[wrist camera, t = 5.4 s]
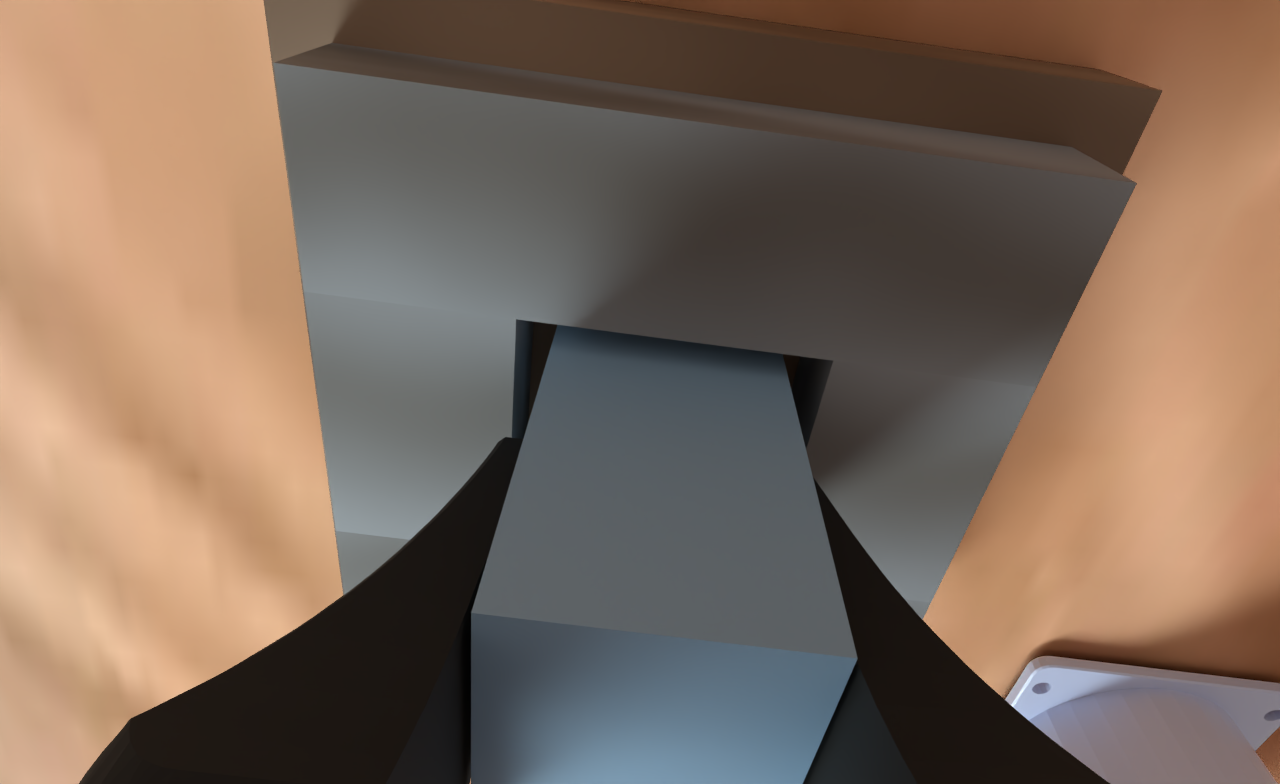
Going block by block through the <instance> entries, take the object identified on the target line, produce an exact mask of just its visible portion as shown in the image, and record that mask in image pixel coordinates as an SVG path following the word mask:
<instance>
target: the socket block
mask: <svg viewBox="0 0 1280 784" xmlns="http://www.w3.org/2000/svg"><path fill="white" fill-rule="evenodd" d="M264 6H265V14H266V21H267V29H268V36H269V44H270V51H271V58H272V66H273V73H274V81H275V88H276V96H277V103H278V111H279V118H280V125H281V133H282V140H283V148H284V155H285V163H286V170H287V178H288V185H289V193H290V200H291V207H292V215H293V222H294V230H295V237H296V245H297V252H298V260H299V267H300V275H301V282H302V289H303V297H304V304H305V312H306V319H307V327H308V334H309V342H310V349H311V356H312V364H313V371H314V379H315V386H316V394H317V401H318V409H319V416H320V424H321V431H322V438H323V446H324V453H325V461H326V468H327V476H328V483H329V491H330V498H331V506H332V513H333V520H334V528H335V535H336V543H337V550H338V558H339V565H340V573H341V580H342V587H343V595H345V594H346V593H347V592H349V591H350V590H351V589H353V588H354V587H355V586H357V585H358V584H359V583H360V582H362V581H363V580H364V579H365V578H367V577H368V576H369V575H370V574H372V573H373V572H374V571H375V570H377V569H378V568H379V567H380V566H381V565H383V564H384V563H385V562H386V561H387V560H388V559H390V558H391V557H392V556H393V555H394V554H395V553H397V552H398V551H399V550H400V549H401V548H402V547H403V546H404V545H405V544H406V543H407V542H408V541H409V540H410V539H412V538H413V537H414V536H415V535H416V534H417V533H418V532H419V531H420V530H421V529H422V528H423V527H424V526H425V525H426V524H427V523H428V522H429V521H430V520H431V519H432V518H433V517H434V516H435V515H436V514H437V513H438V512H439V511H440V510H441V509H442V508H443V507H444V506H445V505H446V504H447V503H448V502H449V501H450V499H451V498H452V497H453V496H454V495H455V494H456V493H457V492H458V491H459V490H460V489H461V488H462V487H463V485H464V484H465V483H466V482H467V481H468V480H469V478H470V477H471V476H472V475H473V474H474V473H475V471H476V470H477V469H478V468H479V467H480V465H481V464H482V463H483V462H484V460H485V459H486V458H487V456H488V455H489V454H490V453H491V451H492V450H493V449H494V447H495V446H496V444H497V443H498V442H499V441H500V440H502V439H503V438H505V437H511V438H518V439H524V435H525V432H526V428H527V425H528V422H529V418H530V415H531V412H532V408H533V405H534V402H535V398H536V395H537V392H538V388H539V385H540V382H541V378H542V375H543V372H544V368H545V365H546V362H547V358H548V355H549V352H550V348H551V345H552V342H553V338H554V335H555V332H556V328H557V325H564V326H571V327H579V328H587V329H594V330H602V331H610V332H617V333H625V334H633V335H640V336H648V337H656V338H663V339H671V340H679V341H686V342H694V343H702V344H709V345H717V346H725V347H733V348H740V349H748V350H756V351H763V352H771V353H779V354H783V358H784V362H785V366H786V370H787V374H788V378H789V383H790V387H791V391H792V395H793V399H794V403H795V407H796V411H797V415H798V419H799V423H800V427H801V431H802V435H803V439H804V443H805V447H806V451H807V455H808V459H809V464H810V468H811V472H812V476H813V477H814V479H815V480H816V482H817V483H818V484H819V486H820V487H821V488H822V490H823V491H824V493H825V494H826V496H827V497H828V499H829V500H830V501H831V503H832V504H833V506H834V507H835V509H836V510H837V511H838V513H839V514H840V516H841V517H842V519H843V520H844V521H845V523H846V524H847V526H848V527H849V528H850V530H851V531H852V533H853V534H854V535H855V537H856V538H857V540H858V541H859V542H860V544H861V545H862V546H863V548H864V549H865V550H866V552H867V553H868V554H869V556H870V557H871V558H872V560H873V561H874V562H875V563H876V565H877V566H878V567H879V569H880V570H881V571H882V573H883V574H884V575H885V576H886V578H887V579H888V580H889V581H890V583H891V584H892V585H893V586H894V588H895V589H896V590H897V591H898V592H899V593H900V594H901V596H902V597H903V598H904V599H905V600H906V601H907V603H908V604H909V605H910V606H911V607H912V608H913V610H914V611H915V612H916V613H917V614H918V615H919V617H920V618H921V619H923V617H924V615H925V613H926V611H927V609H928V607H929V605H930V603H931V601H932V599H933V597H934V595H935V593H936V591H937V589H938V587H939V585H940V583H941V581H942V579H943V577H944V575H945V573H946V571H947V568H948V566H949V564H950V562H951V560H952V558H953V556H954V554H955V552H956V550H957V548H958V546H959V544H960V542H961V540H962V538H963V536H964V534H965V532H966V530H967V528H968V526H969V524H970V522H971V520H972V518H973V516H974V514H975V511H976V509H977V507H978V505H979V503H980V501H981V499H982V497H983V495H984V493H985V491H986V489H987V487H988V485H989V483H990V481H991V479H992V477H993V475H994V473H995V471H996V469H997V467H998V465H999V463H1000V461H1001V459H1002V457H1003V454H1004V452H1005V450H1006V448H1007V446H1008V444H1009V442H1010V440H1011V438H1012V436H1013V434H1014V432H1015V430H1016V428H1017V426H1018V424H1019V422H1020V420H1021V418H1022V416H1023V414H1024V412H1025V410H1026V408H1027V406H1028V404H1029V402H1030V400H1031V397H1032V395H1033V393H1034V391H1035V389H1036V387H1037V385H1038V383H1039V381H1040V379H1041V377H1042V375H1043V373H1044V371H1045V369H1046V367H1047V365H1048V363H1049V361H1050V359H1051V357H1052V355H1053V353H1054V351H1055V349H1056V347H1057V345H1058V343H1059V340H1060V338H1061V336H1062V334H1063V332H1064V330H1065V328H1066V326H1067V324H1068V322H1069V320H1070V318H1071V316H1072V314H1073V312H1074V310H1075V308H1076V306H1077V304H1078V302H1079V300H1080V298H1081V296H1082V294H1083V292H1084V290H1085V288H1086V286H1087V284H1088V281H1089V279H1090V277H1091V275H1092V273H1093V271H1094V269H1095V267H1096V265H1097V263H1098V261H1099V259H1100V257H1101V255H1102V253H1103V251H1104V249H1105V247H1106V245H1107V243H1108V241H1109V239H1110V237H1111V235H1112V233H1113V231H1114V229H1115V227H1116V224H1117V222H1118V220H1119V218H1120V216H1121V214H1122V212H1123V210H1124V208H1125V206H1126V204H1127V202H1128V200H1129V198H1130V196H1131V194H1132V192H1133V190H1134V188H1135V186H1136V184H1137V183H1135V182H1134V181H1132V180H1130V179H1128V178H1126V177H1125V176H1123V175H1122V174H1123V172H1124V170H1125V168H1126V166H1127V164H1128V162H1129V160H1130V158H1131V155H1132V153H1133V151H1134V149H1135V147H1136V145H1137V143H1138V141H1139V139H1140V137H1141V135H1142V132H1143V130H1144V128H1145V126H1146V124H1147V122H1148V120H1149V118H1150V116H1151V114H1152V112H1153V109H1154V107H1155V105H1156V103H1157V101H1158V99H1159V97H1160V95H1161V93H1162V91H1161V90H1158V89H1155V88H1153V87H1150V86H1147V85H1144V84H1141V83H1138V82H1135V81H1132V80H1129V79H1126V78H1123V77H1120V76H1117V75H1114V74H1111V73H1108V72H1105V71H1102V70H1098V69H1092V68H1085V67H1078V66H1071V65H1064V64H1057V63H1050V62H1043V61H1036V60H1029V59H1022V58H1015V57H1008V56H1001V55H995V54H988V53H981V52H974V51H967V50H960V49H953V48H946V47H939V46H932V45H925V44H918V43H911V42H905V41H898V40H891V39H884V38H877V37H870V36H863V35H856V34H849V33H842V32H835V31H828V30H821V29H814V28H808V27H801V26H794V25H787V24H780V23H773V22H766V21H759V20H752V19H745V18H738V17H731V16H724V15H718V14H711V13H704V12H697V11H690V10H683V9H676V8H669V7H662V6H655V5H648V4H641V3H634V2H627V1H621V0H264Z"/></svg>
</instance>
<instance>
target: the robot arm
mask: <svg viewBox="0 0 1280 784" xmlns="http://www.w3.org/2000/svg"><path fill="white" fill-rule="evenodd" d="M522 442H523V439H518V438H511V437H505V438H503V439H502V440H500V441H499V442H498V443H497V444H496V446H495V447H494V449H493V450H492V451H491V453H490V454H489V455H488V456H487V458H486V459H485V460H484V462H483V463H482V464H481V465H480V467H479V468H478V469H477V470H476V471H475V473H474V474H473V475H472V476H471V477H470V478H469V480H468V481H467V482H466V483H465V484H464V485H463V487H462V488H461V489H460V490H459V491H458V492H457V493H456V494H455V495H454V496H453V497H452V498H451V499H450V501H449V502H448V503H447V504H446V505H445V506H444V507H443V508H442V509H441V510H440V511H439V512H438V513H437V514H436V515H435V516H434V517H433V518H432V519H431V520H430V521H429V522H428V523H427V524H426V525H425V526H424V527H423V528H422V529H421V530H420V531H419V532H418V533H417V534H416V535H415V536H414V537H413V538H412V539H410V540H409V541H408V542H407V543H406V544H405V545H404V546H403V547H402V548H401V549H400V550H399V551H398V552H397V553H395V554H394V555H393V556H392V557H391V558H390V559H388V560H387V561H386V562H385V563H384V564H383V565H381V566H380V567H379V568H378V569H377V570H375V571H374V572H373V573H372V574H370V575H369V576H368V577H367V578H365V579H364V580H363V581H362V582H360V583H359V584H358V585H357V586H355V587H354V588H353V589H351V590H350V591H349V592H347V593H346V594H345V595H343V596H342V597H341V598H339V599H338V600H336V601H335V602H334V603H332V604H331V605H329V606H328V607H327V608H325V609H324V610H323V611H321V612H320V613H318V614H317V615H316V616H314V617H313V618H311V619H310V620H308V621H307V622H305V623H304V624H302V625H301V626H299V627H298V628H296V629H295V630H293V631H292V632H290V633H288V634H287V635H285V636H284V637H282V638H280V639H279V640H277V641H275V642H274V643H272V644H270V645H269V646H267V647H265V648H264V649H262V650H260V651H259V652H257V653H255V654H254V655H252V656H250V657H249V658H247V659H245V660H244V661H242V662H240V663H239V664H237V665H235V666H234V667H232V668H230V669H228V670H227V671H225V672H223V673H221V674H219V675H217V676H216V677H214V678H212V679H210V680H208V681H206V682H204V683H202V684H200V685H198V686H196V687H194V688H192V689H190V690H188V691H186V692H184V693H182V694H180V695H178V696H176V697H174V698H172V699H170V700H168V701H166V702H164V703H162V704H160V705H158V706H156V707H154V708H152V709H150V710H148V711H146V712H144V713H142V714H139V715H137V716H135V717H133V718H131V719H130V720H129V721H128V722H127V724H126V725H125V726H124V728H123V729H122V730H121V731H120V733H119V734H118V735H117V736H116V737H115V738H114V739H113V741H112V742H111V743H110V744H109V745H108V746H107V747H106V748H105V750H104V751H103V752H102V753H101V754H100V756H99V757H98V758H97V760H96V761H95V762H94V764H93V765H92V766H91V767H90V769H89V770H88V771H87V773H86V774H85V776H84V777H83V778H82V780H81V781H80V783H79V784H469V783H470V779H471V612H472V609H473V605H474V602H475V599H476V595H477V592H478V589H479V585H480V582H481V579H482V575H483V572H484V569H485V565H486V562H487V559H488V555H489V552H490V549H491V545H492V542H493V539H494V535H495V532H496V529H497V525H498V522H499V519H500V515H501V512H502V509H503V505H504V502H505V499H506V495H507V492H508V489H509V485H510V482H511V479H512V475H513V472H514V469H515V465H516V462H517V459H518V455H519V452H520V449H521V445H522ZM813 480H814V484H815V488H816V492H817V496H818V500H819V504H820V508H821V512H822V516H823V520H824V524H825V528H826V532H827V536H828V540H829V545H830V549H831V553H832V557H833V561H834V565H835V569H836V573H837V577H838V581H839V585H840V589H841V593H842V597H843V601H844V605H845V609H846V613H847V617H848V621H849V625H850V630H851V634H852V638H853V642H854V646H855V650H856V654H857V658H858V659H857V661H856V663H855V666H854V668H853V670H852V673H851V675H850V677H849V679H848V682H847V684H846V686H845V688H844V691H843V693H842V695H841V698H840V700H839V702H838V704H837V707H836V709H835V711H834V713H833V716H832V718H831V720H830V723H829V725H828V727H827V729H826V732H825V734H824V736H823V739H822V741H821V743H820V745H819V748H818V750H817V752H816V754H815V757H814V759H813V761H812V764H811V766H810V768H809V770H808V773H807V775H806V777H805V779H804V782H803V784H1278V783H1277V782H1276V780H1275V779H1274V777H1273V776H1272V775H1271V773H1270V772H1269V770H1268V769H1267V767H1266V766H1265V765H1264V763H1263V762H1262V760H1261V759H1260V757H1259V756H1258V755H1257V753H1256V752H1255V751H1256V750H1257V749H1258V748H1259V747H1260V746H1261V745H1262V744H1263V743H1264V742H1265V741H1266V740H1267V739H1268V738H1269V737H1270V736H1271V735H1272V734H1273V733H1274V732H1275V731H1276V730H1277V729H1278V728H1279V727H1280V683H1274V682H1266V681H1257V680H1249V679H1241V678H1232V677H1224V676H1215V675H1207V674H1198V673H1190V672H1182V671H1173V670H1165V669H1156V668H1148V667H1140V666H1131V665H1123V664H1114V663H1106V662H1098V661H1089V660H1081V659H1072V658H1064V657H1055V656H1041V657H1037V658H1035V659H1033V660H1031V661H1030V663H1029V664H1028V665H1027V666H1026V668H1025V669H1024V671H1023V672H1022V674H1021V676H1020V677H1019V679H1018V680H1017V682H1016V683H1015V685H1014V687H1013V688H1012V690H1011V691H1010V693H1009V694H1008V696H1007V698H1006V699H1005V700H1004V699H1003V698H1002V697H1001V696H1000V695H999V694H998V693H996V692H995V691H994V690H993V689H992V688H991V687H990V686H988V685H987V684H986V683H985V682H984V681H983V680H982V679H981V678H980V677H979V676H978V675H977V674H975V673H974V672H973V671H972V670H971V669H970V668H969V667H968V666H967V665H966V664H965V663H964V662H963V661H962V660H961V659H960V658H959V657H958V656H957V655H956V654H955V653H954V652H953V651H952V650H951V649H950V648H949V647H948V646H947V645H946V644H945V643H944V642H943V641H942V640H941V639H940V638H939V637H938V636H937V635H936V634H935V633H934V632H933V631H932V630H931V628H930V627H929V626H928V625H927V624H926V623H925V622H924V621H923V620H922V619H921V618H920V617H919V615H918V614H917V613H916V612H915V611H914V610H913V608H912V607H911V606H910V605H909V604H908V603H907V601H906V600H905V599H904V598H903V597H902V596H901V594H900V593H899V592H898V591H897V590H896V589H895V588H894V586H893V585H892V584H891V583H890V581H889V580H888V579H887V578H886V576H885V575H884V574H883V573H882V571H881V570H880V569H879V567H878V566H877V565H876V563H875V562H874V561H873V560H872V558H871V557H870V556H869V554H868V553H867V552H866V550H865V549H864V548H863V546H862V545H861V544H860V542H859V541H858V540H857V538H856V537H855V535H854V534H853V533H852V531H851V530H850V528H849V527H848V526H847V524H846V523H845V521H844V520H843V519H842V517H841V516H840V514H839V513H838V511H837V510H836V509H835V507H834V506H833V504H832V503H831V501H830V500H829V499H828V497H827V496H826V494H825V493H824V491H823V490H822V488H821V487H820V486H819V484H818V483H817V482H816V480H815V479H814V477H813Z"/></svg>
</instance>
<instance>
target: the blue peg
mask: <svg viewBox="0 0 1280 784" xmlns="http://www.w3.org/2000/svg"><path fill="white" fill-rule="evenodd" d="M857 659H858V658H857V654H856V650H855V646H854V642H853V638H852V634H851V630H850V625H849V621H848V617H847V613H846V609H845V605H844V601H843V597H842V593H841V589H840V585H839V581H838V577H837V573H836V569H835V565H834V561H833V557H832V553H831V549H830V545H829V540H828V536H827V532H826V528H825V524H824V520H823V516H822V512H821V508H820V504H819V500H818V496H817V492H816V488H815V484H814V480H813V476H812V472H811V468H810V464H809V459H808V455H807V451H806V447H805V443H804V439H803V435H802V431H801V427H800V423H799V419H798V415H797V411H796V407H795V403H794V399H793V395H792V391H791V387H790V383H789V378H788V374H787V370H786V366H785V362H784V358H783V354H779V353H771V352H763V351H756V350H748V349H740V348H733V347H725V346H717V345H709V344H702V343H694V342H686V341H679V340H671V339H663V338H656V337H648V336H640V335H633V334H625V333H617V332H610V331H602V330H594V329H587V328H579V327H571V326H564V325H557V328H556V332H555V335H554V338H553V342H552V345H551V348H550V352H549V355H548V358H547V362H546V365H545V368H544V372H543V375H542V378H541V382H540V385H539V388H538V392H537V395H536V398H535V402H534V405H533V408H532V412H531V415H530V418H529V422H528V425H527V428H526V432H525V435H524V439H523V442H522V445H521V449H520V452H519V455H518V459H517V462H516V465H515V469H514V472H513V475H512V479H511V482H510V485H509V489H508V492H507V495H506V499H505V502H504V505H503V509H502V512H501V515H500V519H499V522H498V525H497V529H496V532H495V535H494V539H493V542H492V545H491V549H490V552H489V555H488V559H487V562H486V565H485V569H484V572H483V575H482V579H481V582H480V585H479V589H478V592H477V595H476V599H475V602H474V605H473V609H472V612H471V784H803V782H804V779H805V777H806V775H807V773H808V770H809V768H810V766H811V764H812V761H813V759H814V757H815V754H816V752H817V750H818V748H819V745H820V743H821V741H822V739H823V736H824V734H825V732H826V729H827V727H828V725H829V723H830V720H831V718H832V716H833V713H834V711H835V709H836V707H837V704H838V702H839V700H840V698H841V695H842V693H843V691H844V688H845V686H846V684H847V682H848V679H849V677H850V675H851V673H852V670H853V668H854V666H855V663H856V661H857Z"/></svg>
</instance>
